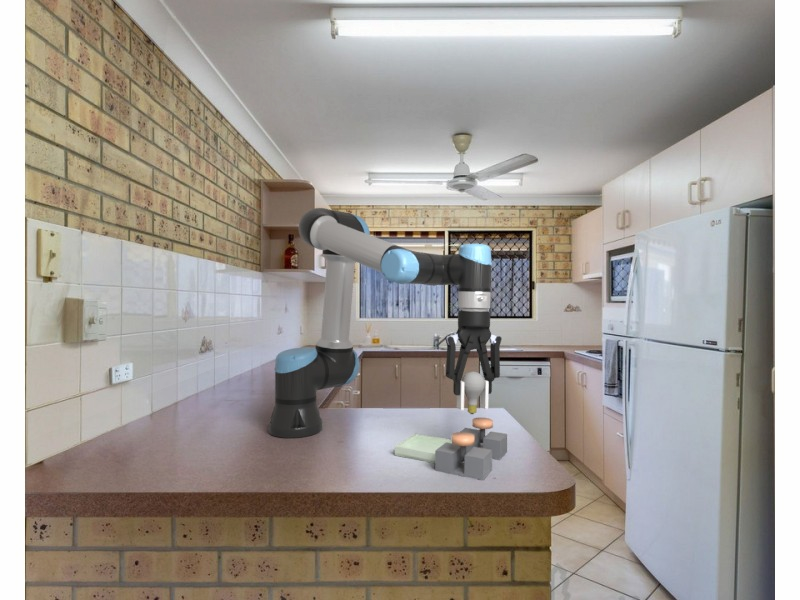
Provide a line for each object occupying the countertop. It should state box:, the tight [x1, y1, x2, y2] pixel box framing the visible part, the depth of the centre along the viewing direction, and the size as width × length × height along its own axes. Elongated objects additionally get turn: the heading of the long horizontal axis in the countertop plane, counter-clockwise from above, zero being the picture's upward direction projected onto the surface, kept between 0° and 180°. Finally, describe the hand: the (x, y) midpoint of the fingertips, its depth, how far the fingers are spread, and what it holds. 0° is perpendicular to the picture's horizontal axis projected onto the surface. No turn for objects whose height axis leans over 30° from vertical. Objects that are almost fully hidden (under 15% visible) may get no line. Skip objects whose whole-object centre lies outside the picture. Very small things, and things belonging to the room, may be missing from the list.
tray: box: [394, 433, 452, 464], centre depth 110 cm, size 12×12×2 cm
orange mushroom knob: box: [472, 417, 494, 444], centre depth 110 cm, size 5×5×6 cm
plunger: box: [451, 431, 475, 463], centre depth 98 cm, size 5×5×6 cm
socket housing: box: [434, 427, 508, 481], centre depth 104 cm, size 11×20×4 cm, turn 152°
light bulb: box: [461, 371, 485, 415], centre depth 104 cm, size 6×6×10 cm
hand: (472, 407), depth 104 cm, fingers closed on light bulb, 5 cm apart
